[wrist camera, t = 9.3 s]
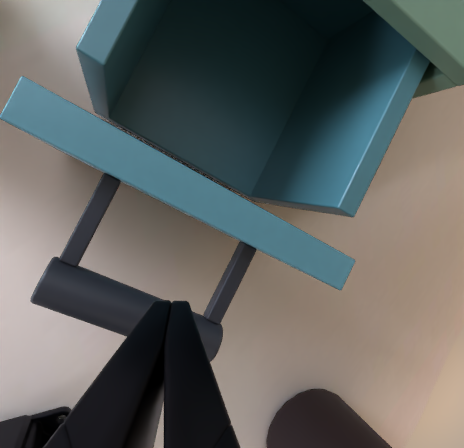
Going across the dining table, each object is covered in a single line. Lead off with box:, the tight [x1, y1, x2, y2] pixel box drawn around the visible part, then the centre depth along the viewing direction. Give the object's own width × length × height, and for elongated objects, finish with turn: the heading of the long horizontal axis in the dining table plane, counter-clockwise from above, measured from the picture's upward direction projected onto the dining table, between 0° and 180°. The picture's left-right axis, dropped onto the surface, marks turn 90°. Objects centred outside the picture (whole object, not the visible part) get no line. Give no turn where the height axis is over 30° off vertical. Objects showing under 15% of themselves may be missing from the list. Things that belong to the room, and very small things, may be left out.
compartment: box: [0, 0, 430, 362], centre depth 15 cm, size 18×11×10 cm, turn 152°
